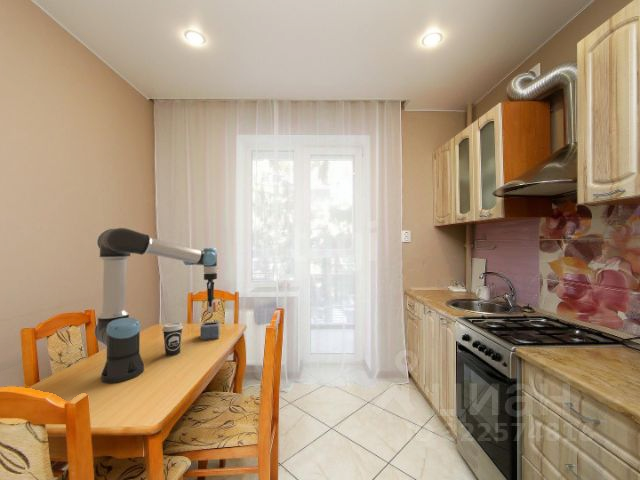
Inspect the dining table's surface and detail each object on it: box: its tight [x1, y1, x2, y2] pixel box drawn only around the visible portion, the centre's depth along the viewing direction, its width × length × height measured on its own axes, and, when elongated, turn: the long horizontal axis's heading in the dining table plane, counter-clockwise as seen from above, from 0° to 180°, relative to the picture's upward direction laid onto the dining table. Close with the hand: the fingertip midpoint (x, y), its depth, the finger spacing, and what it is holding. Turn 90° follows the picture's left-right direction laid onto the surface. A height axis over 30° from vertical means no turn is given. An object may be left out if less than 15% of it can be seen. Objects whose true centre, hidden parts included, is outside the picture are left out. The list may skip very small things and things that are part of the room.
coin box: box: [199, 320, 221, 341], centre depth 163 cm, size 10×10×8 cm
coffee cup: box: [161, 321, 184, 357], centre depth 139 cm, size 10×10×15 cm
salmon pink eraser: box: [206, 300, 217, 314], centre depth 164 cm, size 2×5×6 cm, turn 106°
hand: (210, 310), depth 163 cm, fingers closed on salmon pink eraser, 2 cm apart
